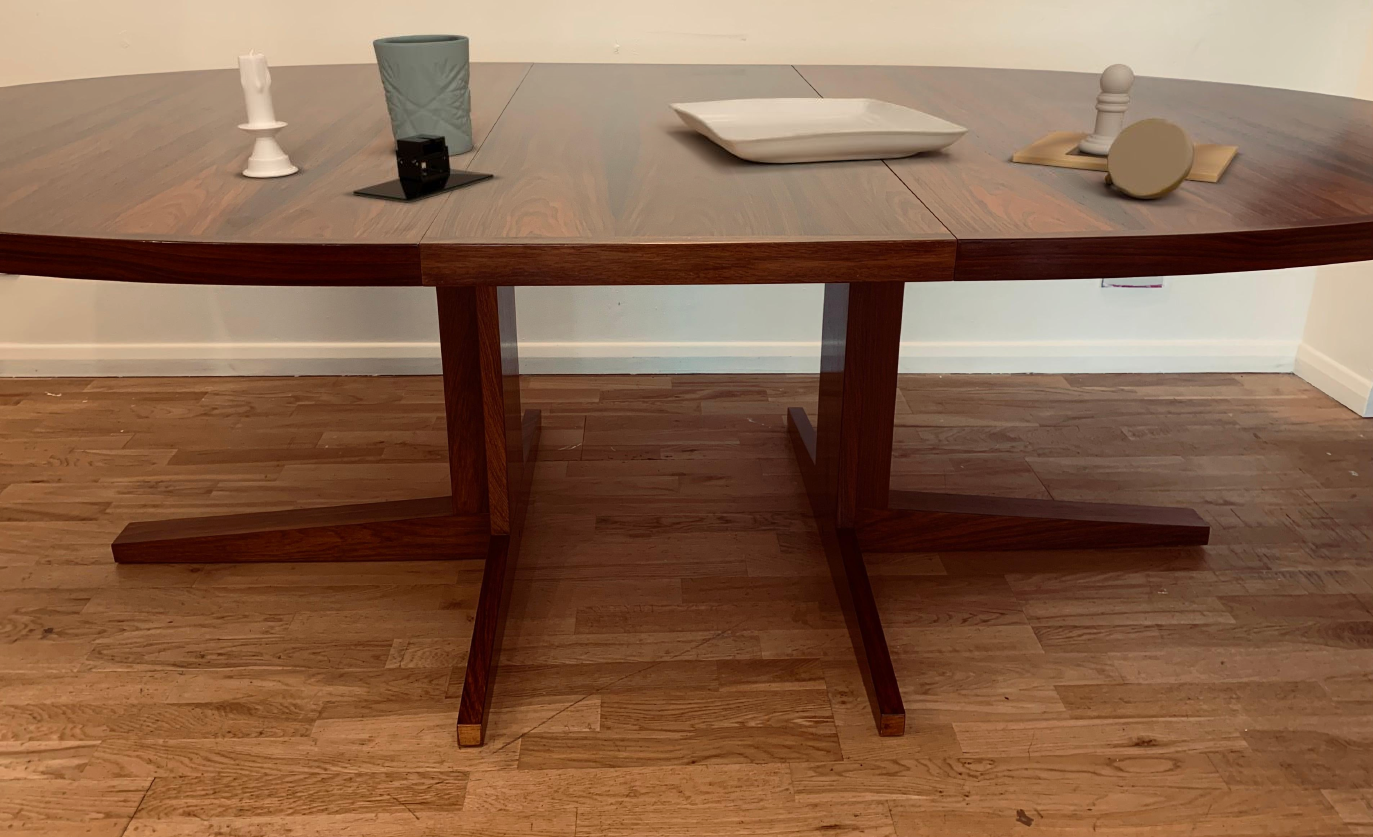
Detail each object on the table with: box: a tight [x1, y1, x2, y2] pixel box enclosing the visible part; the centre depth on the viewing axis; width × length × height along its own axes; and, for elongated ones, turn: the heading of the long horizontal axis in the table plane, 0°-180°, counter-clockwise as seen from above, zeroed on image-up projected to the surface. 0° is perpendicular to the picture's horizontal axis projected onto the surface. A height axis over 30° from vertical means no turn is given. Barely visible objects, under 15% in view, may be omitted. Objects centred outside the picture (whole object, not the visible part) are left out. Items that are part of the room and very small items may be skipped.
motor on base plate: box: [352, 134, 495, 203], centre depth 97 cm, size 12×7×5 cm, turn 152°
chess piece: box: [1078, 63, 1135, 155], centre depth 107 cm, size 5×5×9 cm
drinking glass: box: [372, 34, 474, 157], centre depth 113 cm, size 10×10×12 cm
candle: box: [237, 48, 299, 179], centre depth 101 cm, size 5×5×12 cm
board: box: [1011, 130, 1239, 183], centre depth 111 cm, size 20×18×1 cm
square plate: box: [668, 97, 970, 164], centre depth 117 cm, size 27×27×4 cm
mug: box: [1104, 118, 1194, 200], centre depth 94 cm, size 8×10×10 cm
